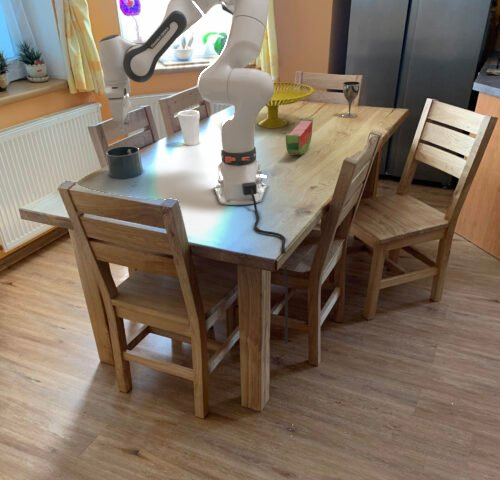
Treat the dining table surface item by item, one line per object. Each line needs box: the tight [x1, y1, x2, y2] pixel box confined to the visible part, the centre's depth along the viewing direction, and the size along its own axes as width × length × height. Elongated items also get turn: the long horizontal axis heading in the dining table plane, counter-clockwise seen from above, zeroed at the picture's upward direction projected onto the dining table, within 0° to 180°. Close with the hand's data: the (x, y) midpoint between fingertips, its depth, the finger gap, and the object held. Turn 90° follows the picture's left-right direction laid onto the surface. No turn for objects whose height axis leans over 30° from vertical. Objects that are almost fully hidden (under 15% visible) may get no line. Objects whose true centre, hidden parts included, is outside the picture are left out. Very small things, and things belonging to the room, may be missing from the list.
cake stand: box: [258, 81, 315, 129], centre depth 249 cm, size 40×40×15 cm
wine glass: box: [341, 81, 361, 118], centre depth 256 cm, size 8×8×15 cm
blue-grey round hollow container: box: [105, 145, 144, 180], centre depth 201 cm, size 13×13×8 cm
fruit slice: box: [285, 117, 314, 156], centre depth 214 cm, size 26×6×10 cm, turn 162°
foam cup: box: [177, 109, 201, 147], centre depth 228 cm, size 10×9×13 cm
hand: (125, 128), depth 191 cm, fingers open, 8 cm apart
